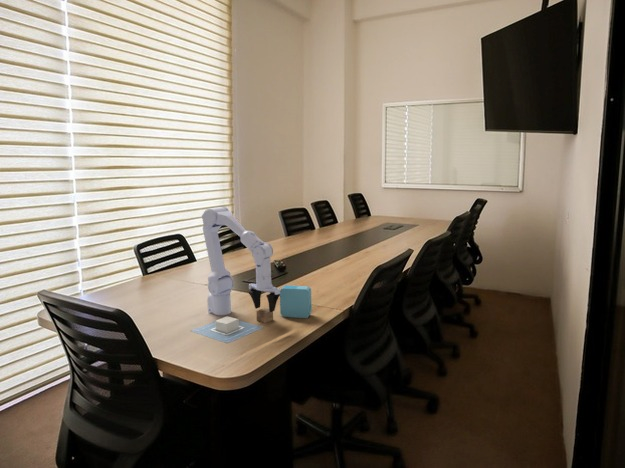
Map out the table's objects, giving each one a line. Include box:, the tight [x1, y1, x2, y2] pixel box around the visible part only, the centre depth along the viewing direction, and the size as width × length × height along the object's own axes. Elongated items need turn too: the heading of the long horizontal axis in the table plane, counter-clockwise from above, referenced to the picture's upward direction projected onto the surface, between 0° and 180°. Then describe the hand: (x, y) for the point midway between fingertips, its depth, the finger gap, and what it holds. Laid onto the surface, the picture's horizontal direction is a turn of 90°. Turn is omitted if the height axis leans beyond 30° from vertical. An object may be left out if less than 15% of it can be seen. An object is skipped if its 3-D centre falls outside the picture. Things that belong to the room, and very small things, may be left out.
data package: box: [279, 285, 312, 319], centre depth 180 cm, size 12×4×12 cm, turn 78°
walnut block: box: [256, 307, 274, 324], centre depth 173 cm, size 4×4×5 cm
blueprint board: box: [190, 320, 264, 344], centre depth 165 cm, size 20×18×1 cm
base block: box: [214, 315, 240, 333], centre depth 164 cm, size 6×6×4 cm
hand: (264, 309), depth 173 cm, fingers open, 7 cm apart
